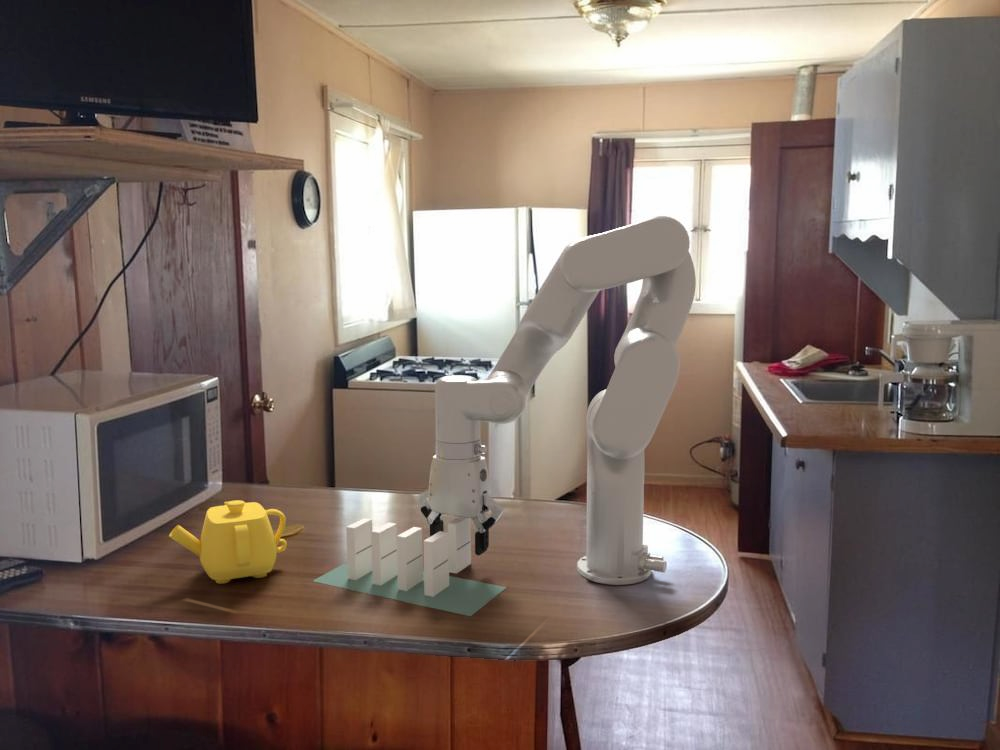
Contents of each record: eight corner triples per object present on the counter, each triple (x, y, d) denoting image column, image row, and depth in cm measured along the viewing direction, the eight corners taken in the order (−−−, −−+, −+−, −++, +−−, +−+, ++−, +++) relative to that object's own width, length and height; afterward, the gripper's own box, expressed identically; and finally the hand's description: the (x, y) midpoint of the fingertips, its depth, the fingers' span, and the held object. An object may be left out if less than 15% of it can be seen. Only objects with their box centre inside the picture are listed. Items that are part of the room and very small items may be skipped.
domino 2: (398, 575, 144) (396, 523, 143) (380, 585, 140) (379, 532, 138) (389, 573, 145) (388, 522, 143) (372, 583, 140) (371, 531, 139)
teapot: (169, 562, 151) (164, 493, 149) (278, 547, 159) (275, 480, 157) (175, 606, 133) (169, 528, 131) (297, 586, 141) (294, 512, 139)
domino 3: (423, 580, 142) (422, 528, 140) (406, 591, 138) (405, 537, 136) (414, 578, 143) (413, 526, 141) (398, 589, 138) (396, 535, 137)
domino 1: (373, 570, 146) (372, 519, 145) (356, 580, 142) (354, 528, 141) (365, 568, 147) (364, 518, 146) (347, 578, 143) (346, 526, 141)
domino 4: (449, 585, 140) (448, 532, 138) (433, 596, 135) (432, 542, 134) (440, 583, 140) (439, 531, 139) (424, 594, 136) (423, 540, 135)
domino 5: (471, 565, 149) (470, 516, 148) (456, 575, 145) (456, 524, 143) (462, 564, 150) (462, 514, 149) (448, 574, 146) (447, 523, 144)
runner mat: (506, 589, 139) (506, 587, 139) (470, 618, 128) (470, 616, 128) (355, 559, 152) (355, 557, 152) (312, 583, 142) (312, 581, 142)
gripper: (514, 450, 143) (514, 549, 146) (425, 439, 151) (427, 534, 154) (493, 460, 137) (494, 564, 140) (402, 448, 145) (404, 547, 147)
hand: (459, 548), depth 147 cm, fingers open, 8 cm apart
